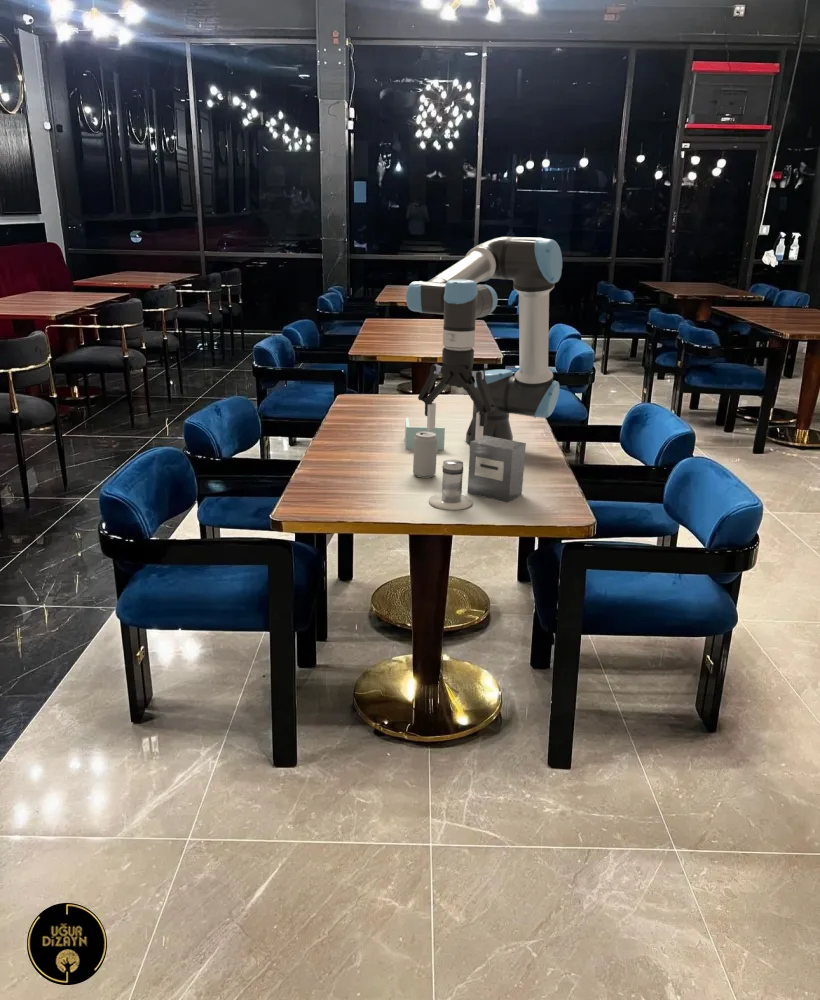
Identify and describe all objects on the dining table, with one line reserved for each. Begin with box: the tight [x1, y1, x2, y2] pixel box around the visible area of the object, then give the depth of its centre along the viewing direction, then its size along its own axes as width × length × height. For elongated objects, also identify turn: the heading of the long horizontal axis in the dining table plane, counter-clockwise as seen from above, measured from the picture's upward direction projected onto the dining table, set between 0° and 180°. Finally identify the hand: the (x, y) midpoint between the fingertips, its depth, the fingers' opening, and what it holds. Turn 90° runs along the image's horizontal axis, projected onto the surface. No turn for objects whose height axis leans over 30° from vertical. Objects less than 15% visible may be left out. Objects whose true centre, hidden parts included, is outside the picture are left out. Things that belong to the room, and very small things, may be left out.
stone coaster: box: [428, 492, 473, 511], centre depth 199 cm, size 11×11×1 cm
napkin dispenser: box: [466, 435, 527, 503], centre depth 203 cm, size 8×12×14 cm
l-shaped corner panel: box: [404, 417, 446, 450], centre depth 248 cm, size 12×12×8 cm
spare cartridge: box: [441, 459, 464, 503], centre depth 197 cm, size 5×5×10 cm
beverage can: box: [412, 431, 438, 479], centre depth 217 cm, size 6×6×12 cm
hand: (454, 433), depth 193 cm, fingers open, 13 cm apart
